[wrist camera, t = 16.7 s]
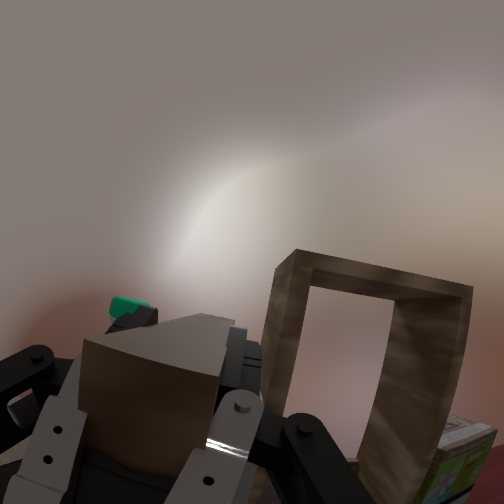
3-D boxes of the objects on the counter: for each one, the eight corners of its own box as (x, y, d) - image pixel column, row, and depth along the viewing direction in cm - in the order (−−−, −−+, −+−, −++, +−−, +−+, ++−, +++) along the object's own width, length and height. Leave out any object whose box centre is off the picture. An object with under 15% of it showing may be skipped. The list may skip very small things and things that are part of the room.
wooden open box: (348, 498, 31) (405, 293, 37) (382, 553, 18) (473, 286, 23) (227, 493, 31) (275, 268, 36) (223, 559, 17) (296, 248, 23)
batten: (228, 353, 27) (235, 320, 28) (196, 491, 5) (218, 376, 6) (195, 346, 27) (201, 313, 28) (77, 451, 5) (83, 338, 6)
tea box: (399, 543, 19) (447, 449, 21) (357, 509, 28) (391, 424, 31) (463, 507, 23) (500, 425, 25) (423, 486, 32) (452, 411, 35)
